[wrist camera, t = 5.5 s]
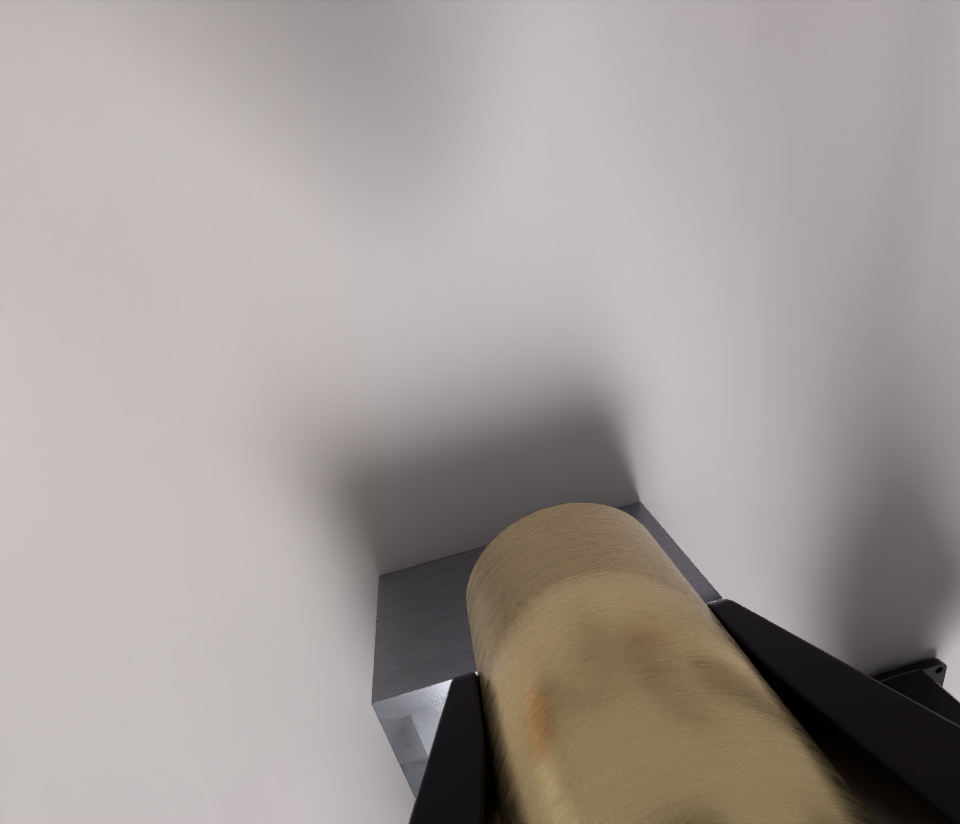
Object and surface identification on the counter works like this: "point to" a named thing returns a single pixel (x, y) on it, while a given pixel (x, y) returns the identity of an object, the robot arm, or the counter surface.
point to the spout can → (628, 689)
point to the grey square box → (447, 643)
